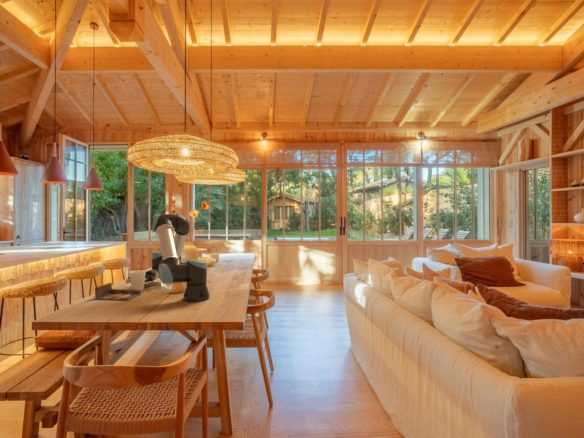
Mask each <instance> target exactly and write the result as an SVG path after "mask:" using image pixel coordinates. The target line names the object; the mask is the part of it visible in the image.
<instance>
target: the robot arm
mask: <svg viewBox="0 0 584 438" xmlns="http://www.w3.org/2000/svg"><path fill="white" fill-rule="evenodd" d="M151 229H152V232H153V233H155V234H156V235H157V237H158V238H159V245H160V251H153V252H152V254H151V269H149V270H145V271H146V275H145V279H142V280H141V284H144V285H145V284H146V283H150V282H151V283H153V282H154V281H155V280H157V279H159V280H160V282H161V283H162V284H164V285H167V284H168V285H172V284H179V283H180V284H182V283H186V287H185V290H184V293H183V296H182V297H183V301H187V302H203V301H207V300H209V299H210V293H209V289H208V286H207V284H208V283H207V281H208V280H207V276H208V274H207V272H208V267H207V266H208V265H207V262H206V261H205V260H199V259H186V262H183V263H182V262H181V255H182V254H183V250H184V246H185V242H186V239H187V237H188V236H187V235H188V234H190V230H191V225H190V223H189V220H188V219H187V218H186V217H185V216H184V215H183V214H179V213H178V214H177V213H176V214H175V213H156V214H154V215H153V219H152V228H151ZM174 233H175V235H174ZM125 284H126V285H128V284H131V280H130V276H128V277H127V278H126V279H125Z"/></svg>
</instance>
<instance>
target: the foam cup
mask: <svg viewBox="0 0 584 438" xmlns="http://www.w3.org/2000/svg"><path fill="white" fill-rule="evenodd" d="M146 271H147V270H142V269H138V270H137V269H136V270H131V271H129V277H130V280H131V283H130V287H131V290H141V293H142V292H143V291H144V288H145V287H144V285H145V283H144V284H141V280H142V279H145V275H146Z"/></svg>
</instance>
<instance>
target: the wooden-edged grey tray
mask: <svg viewBox="0 0 584 438" xmlns="http://www.w3.org/2000/svg"><path fill="white" fill-rule="evenodd" d="M112 284H113V283H112V282H109V283H105V284H102V285H99V286H97V287H94V290H95V291H94V293H95V294H94V300H97V301H125V302H126V301H131V300H133V299H135V298H137V297H139V296H141V295H142V292H141V290H132V289H117V288H112V287H113V285H112Z"/></svg>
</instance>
